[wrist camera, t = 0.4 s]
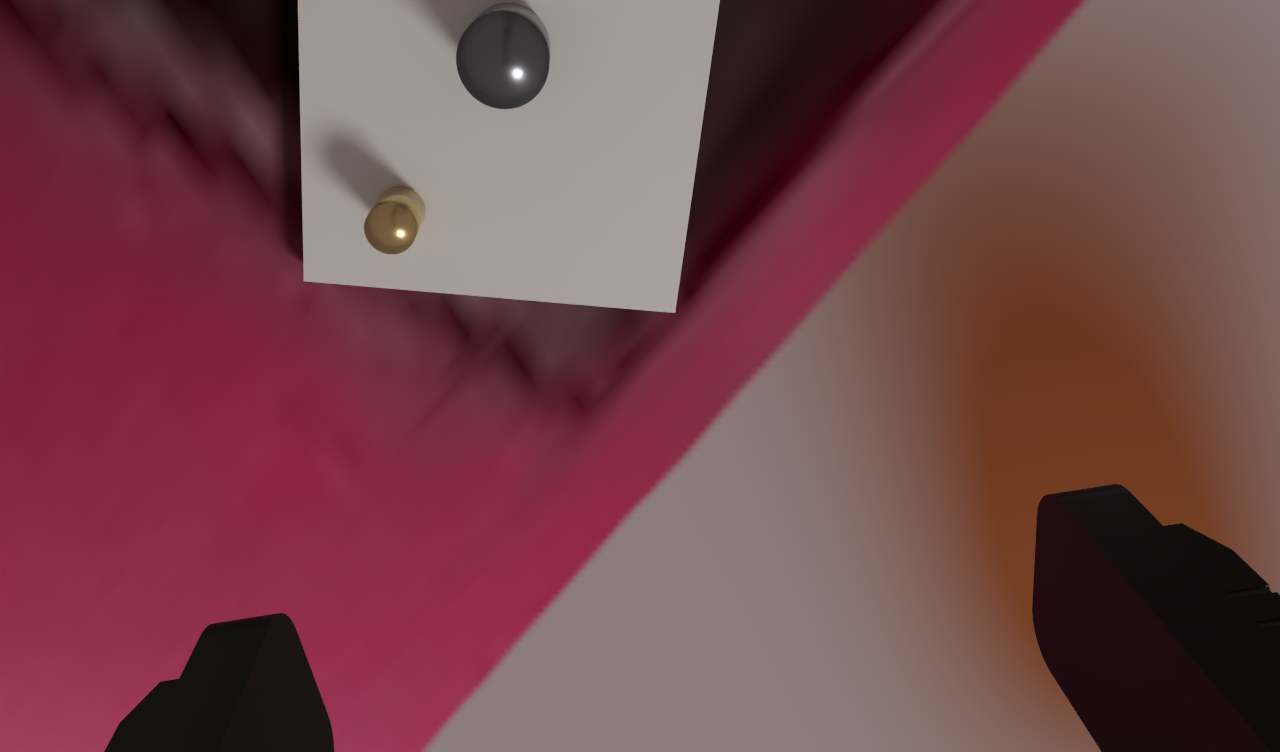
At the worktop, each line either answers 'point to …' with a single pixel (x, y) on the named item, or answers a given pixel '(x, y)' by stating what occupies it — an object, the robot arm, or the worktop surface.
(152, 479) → the worktop surface
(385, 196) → the dowel
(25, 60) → the worktop surface
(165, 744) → the robot arm
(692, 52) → the board
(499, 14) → the post
